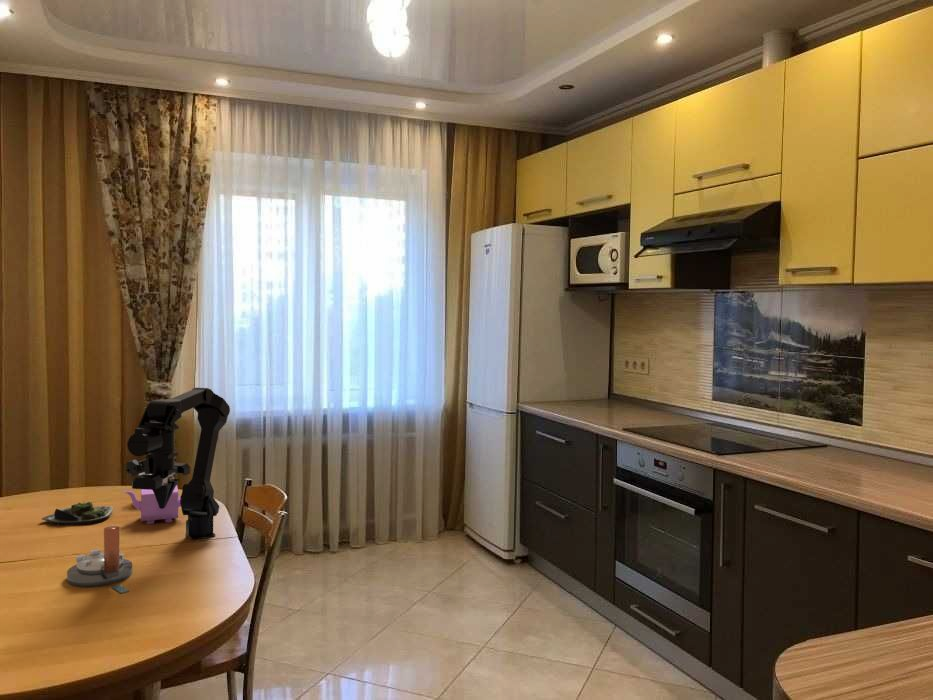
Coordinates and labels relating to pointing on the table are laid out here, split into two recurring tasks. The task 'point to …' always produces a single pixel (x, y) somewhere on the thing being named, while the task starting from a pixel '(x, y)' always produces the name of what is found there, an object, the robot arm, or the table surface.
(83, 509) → the salad plate
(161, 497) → the robot arm
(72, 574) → the flange base
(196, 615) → the table surface
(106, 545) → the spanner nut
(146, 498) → the teapot
